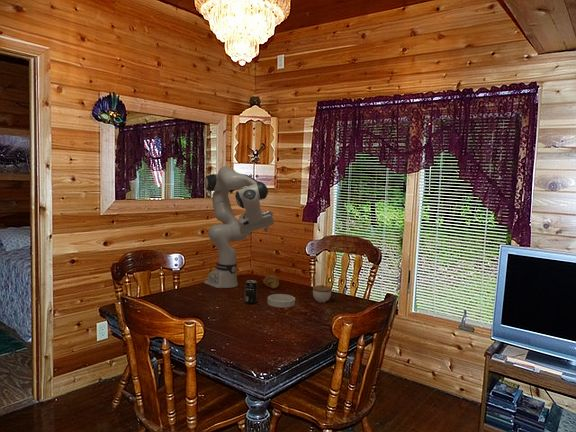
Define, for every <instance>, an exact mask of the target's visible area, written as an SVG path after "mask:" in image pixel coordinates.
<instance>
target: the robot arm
mask: <svg viewBox="0 0 576 432" xmlns="http://www.w3.org/2000/svg"><path fill="white" fill-rule="evenodd" d="M203 184H204V188H205V190H206V191H208V192H212V196H211V198H212V206H213V207H212V208H213V212H214V215H215V218H216V220H217V221H219V222H221V224H220V223H219V224H214V225H211V226H210V227H209V229H208V230H207V235H208V238H209V239H210V241H211V242H213V243H214V244H215V247H216V248H217V253H218V262H217V263H215V266H216V267H215V269H213V270H212V271H211V272H210V273H209V274H208V276H207V279H206V280H204V281H203V283H204V284H206V285H209V286H210V287H214V288H217V289H218V288H220V289H222V288H224V289H227V288H229V289H230V288H235V287H237V286H238V285H239V284H238V277H237V267H238V265H237V250H236V249H235V248H233V247H232V246H230V244H229V242H240V241H243V240H246V238H247V237H248V236H249V238H252V237H253V235H252V232H254V231H256V230H257V231H258V230H260V229H264V232H265V233H267V232H268V229H269V226H273V225H275V221H274V218H273V214H274V213H273V211H269V210H267V211H265V212H262V209H261V203H260V201H262V200H265V199H266V198H267V196H268V194H269V189H268V187H267V185H266V184H265V183H264V182H262V181H259V180H257V179H255V178H253V177H252V176H250V175H249V174H244V173H240V172H237V171H236V170H235V169H233V168H232V167H230V166H224V165H223V166H222V167H220V168H219V170H218V172H217V173H212V174H208V175H206V176H205V177H204V181H203ZM236 190H237V191H236ZM234 191H236V192H235V195H234V197H235V202H236V203H237V205H238V207H239V208H241V209H243V210H245V212H244V213H242V214H241V215H240V216H238V219H237V218H236V217H235V215H234V212H233V209H232V204H231V201H230V198H229V194H233V193H234Z"/></svg>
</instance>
